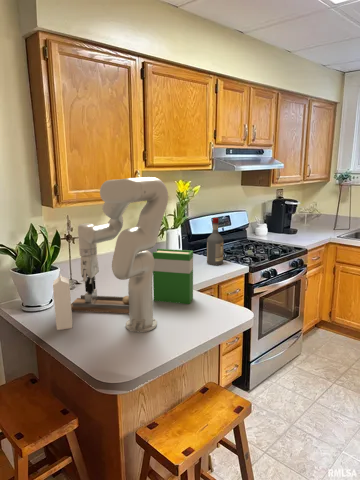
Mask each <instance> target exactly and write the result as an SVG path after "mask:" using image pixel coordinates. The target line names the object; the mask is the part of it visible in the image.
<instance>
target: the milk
mask: <svg viewBox="0 0 360 480" xmlns="http://www.w3.org/2000/svg"><path fill="white" fill-rule="evenodd" d="M70 286H71V285H70V279H69V278H68V277H65V276H63V275H62V273H60V275H59V276H58V277H57V278H56V279H54V280H53V284H52V289H53V290H52V291H53V301H54V314H55V324H56V325H55V326H56V330H57V331H61V330H67V329H69V330H70V329H73V314H72V313H73V312H72V310H71V304H72V300H71V289H70V288H71V287H70Z"/></svg>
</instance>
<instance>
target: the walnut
mask: <svg viewBox="0 0 360 480" xmlns="http://www.w3.org/2000/svg"><path fill="white" fill-rule="evenodd" d="M122 297H123V300H122V301H123V303H124V304H125V305H128V304H129V295H125V296H122Z"/></svg>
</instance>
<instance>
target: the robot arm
mask: <svg viewBox="0 0 360 480" xmlns="http://www.w3.org/2000/svg"><path fill="white" fill-rule="evenodd" d="M99 196H100V199H101V200H102V201H103V202H104V203H103V204H102V212H103V213H104V215H105V216H106V217H107V218H109V221H108V222H107V223H102V224H96V225H95V223H90V222H89V223H80V224H79V225H78V226H77V235H78V236H77V237H78V249H79V250H78V251H79V256H80V274H81V278H82V281H83V282H84V286H85V290H84V291H85V293H87V292H93V286H92V283H91V278H93V284H94V289H96V287H97V286H96V275H97V274H98V273H99V271H100V270H99V269H100V268H99V261H98V249H97V247H98V246H97V244H99V243H103V242H108V241H112V240H113V239H115V238H116V237H117V238H116V241H115V246H114V252H113V255H112V261H111V270H112V271H111V272H112V274H113V275H114V277H115V278H116V279H118V280H120V281H121V280H122V281H125V280H128V279H129V280H128V283H127V284H128V285H127V286H128V288H127V291H128V296H129V313H128V314H129V315H128V316H129V319H128V320H126V322H125V328H126V329H127V330H129V331H131V332H134V333H146V332H150V331H152V330H154V329H155V328H157V325H158V321H157V319H156V318H154V312H153V311H154V308H153V306H154V305H153V303H154V296H153V269H154V257H153V252H151V251H149V250H152V249H153V248H155V246H156V243H157V240H158V237H159V233H160V231H161V230H160V229H161V226H162V222H163V217H164V215H165V212H166V209H167V207H168V202H169V192H168V189H167V186H166V184H165V183H164V182H163V181H162V180H161V179H160V178H157V177H155V176H154V177H152V176H151V177H150V176H147V177H146V176H144V177H129V178H121V179H108V180H105V181H104V182H103V183H102V184H101V186H100V189H99ZM140 202H141V203H142V202H146V203H145V204H144V206H143V207H142V209H141V210H140V213H139V216H138V220H137V223H136V225H135V226H133V227H130V228H126V229H124V230H122V229H123V226H124V217H123V214H124V213H125V212H126V210H127V208H128V207H129V206H130V204H131V203H133V204H134V203H140ZM121 230H122V231H121Z"/></svg>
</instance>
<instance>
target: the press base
mask: <svg viewBox="0 0 360 480" xmlns="http://www.w3.org/2000/svg"><path fill="white" fill-rule="evenodd" d="M123 297H124V296H111V295H110V296H109V295H97V300H96V301H95V302H94V303H85V294H81V295H80V297H77V298H76V299H75V300H74V301H73V302H71V310H72V311H73V312H75V311H76V312H94V313H114V314H115V313H117V314H129V304H128V305H125V304H124V303H123V301H122V300H123Z"/></svg>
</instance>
